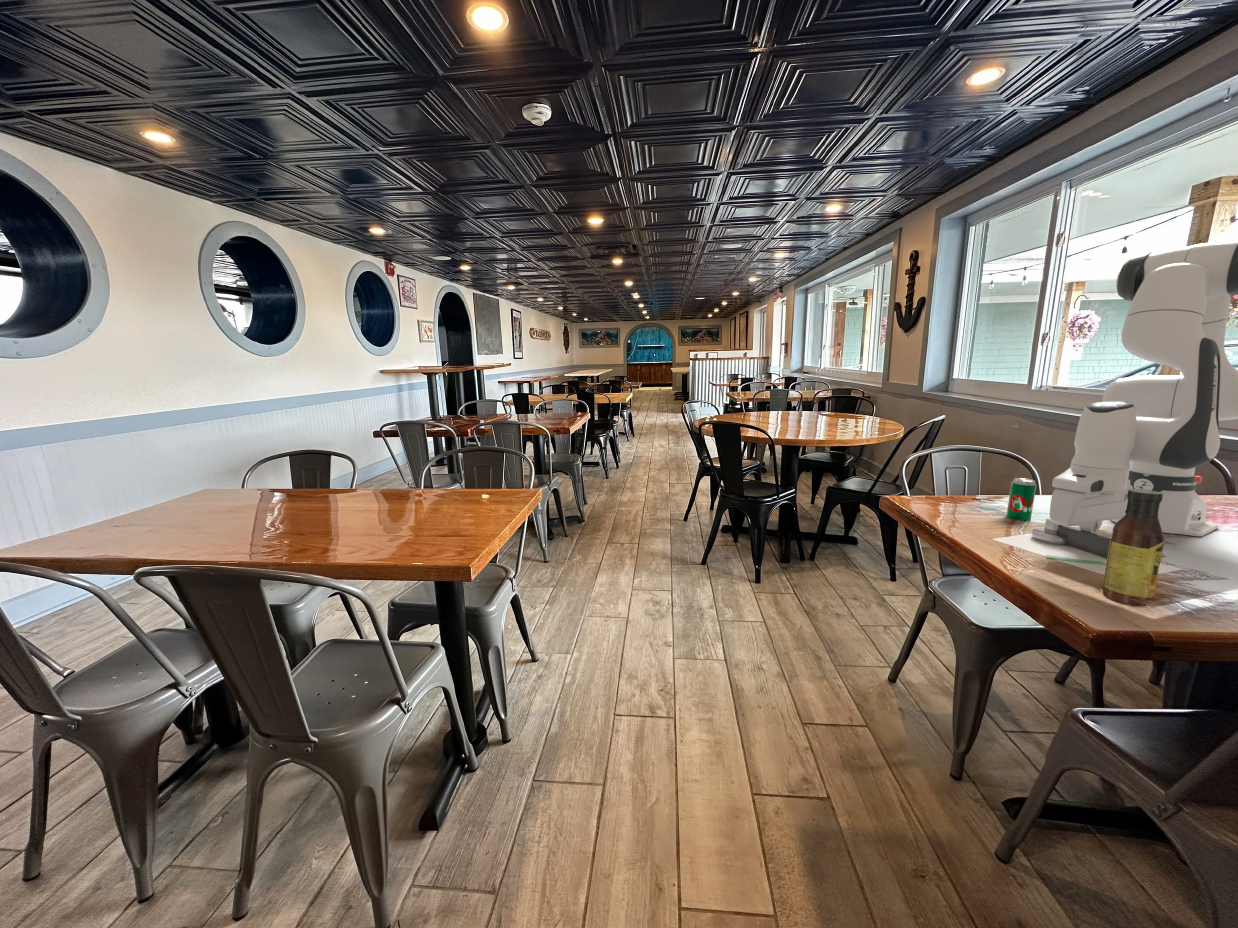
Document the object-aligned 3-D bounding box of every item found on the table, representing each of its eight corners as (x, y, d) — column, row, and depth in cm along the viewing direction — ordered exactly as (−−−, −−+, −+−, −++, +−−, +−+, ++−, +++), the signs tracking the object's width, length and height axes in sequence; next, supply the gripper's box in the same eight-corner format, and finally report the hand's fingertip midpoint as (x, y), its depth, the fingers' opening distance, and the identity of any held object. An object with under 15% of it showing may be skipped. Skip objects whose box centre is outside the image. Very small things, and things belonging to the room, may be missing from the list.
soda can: (1020, 520, 129) (1027, 477, 127) (1034, 526, 124) (1042, 481, 122) (1001, 519, 129) (1007, 477, 127) (1014, 525, 124) (1021, 481, 122)
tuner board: (1044, 537, 116) (1045, 530, 115) (1181, 576, 93) (1183, 568, 93) (988, 545, 110) (989, 538, 110) (1119, 588, 88) (1121, 580, 88)
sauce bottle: (1158, 611, 79) (1183, 498, 76) (1106, 602, 83) (1128, 493, 79) (1142, 596, 85) (1165, 489, 81) (1095, 588, 88) (1115, 485, 84)
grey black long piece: (1023, 535, 112) (1026, 517, 111) (1048, 533, 113) (1051, 515, 112) (1098, 560, 97) (1102, 539, 96) (1126, 557, 98) (1130, 537, 97)
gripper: (1111, 471, 106) (1101, 529, 109) (1046, 479, 101) (1038, 540, 103) (1149, 477, 100) (1137, 538, 103) (1082, 486, 95) (1072, 550, 97)
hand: (1087, 539), depth 103 cm, fingers closed, pressing on grey black long piece
